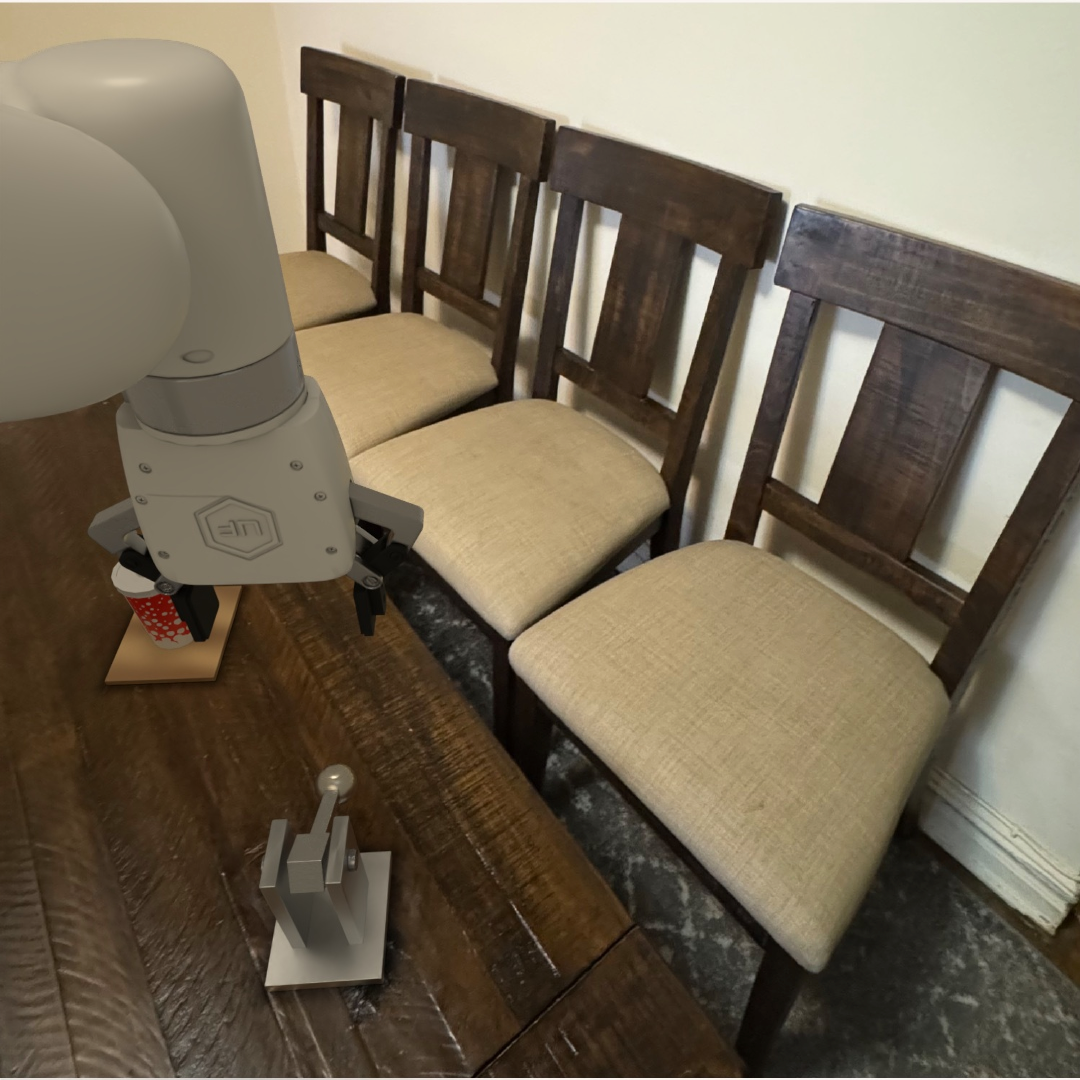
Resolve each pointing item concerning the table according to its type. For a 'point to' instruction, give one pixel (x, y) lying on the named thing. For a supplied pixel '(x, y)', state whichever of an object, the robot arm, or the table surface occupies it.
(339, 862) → the faucet base
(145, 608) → the beverage cup
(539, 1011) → the table surface
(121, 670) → the drip mat
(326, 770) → the grey lever handle
